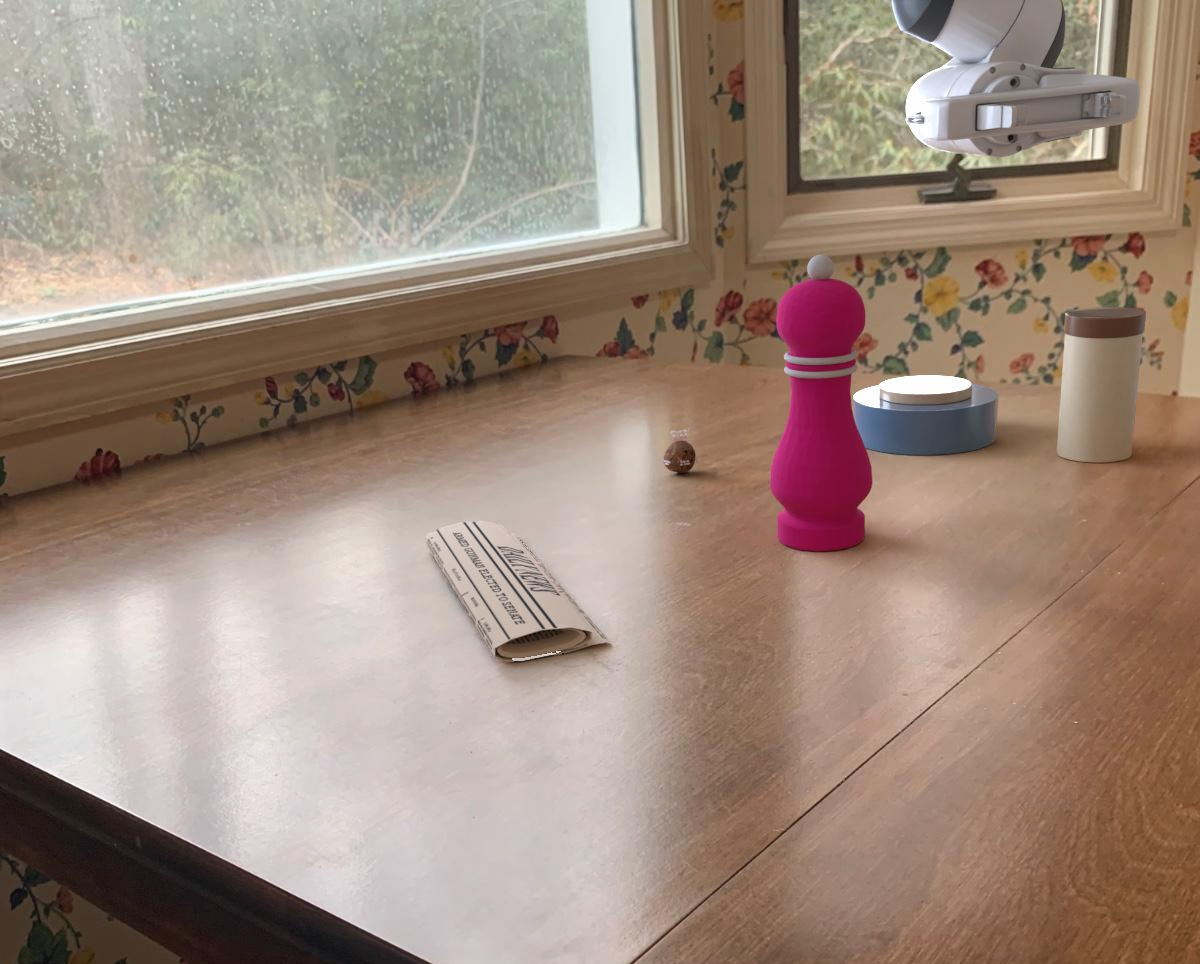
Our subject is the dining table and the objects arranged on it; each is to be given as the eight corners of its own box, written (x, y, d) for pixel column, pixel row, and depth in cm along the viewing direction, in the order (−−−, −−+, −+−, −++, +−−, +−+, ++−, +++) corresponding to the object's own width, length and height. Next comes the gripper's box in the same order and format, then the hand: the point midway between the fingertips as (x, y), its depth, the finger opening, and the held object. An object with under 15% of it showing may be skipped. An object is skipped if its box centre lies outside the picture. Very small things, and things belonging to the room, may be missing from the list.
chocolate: (668, 479, 106) (666, 434, 104) (661, 472, 108) (659, 428, 106) (701, 474, 106) (699, 430, 105) (693, 468, 108) (692, 425, 107)
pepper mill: (826, 561, 84) (826, 262, 76) (750, 540, 89) (743, 259, 82) (892, 535, 88) (898, 250, 80) (816, 516, 93) (815, 247, 86)
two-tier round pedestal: (960, 416, 120) (962, 366, 118) (1021, 446, 108) (1024, 391, 106) (834, 429, 119) (834, 378, 117) (881, 461, 107) (882, 405, 105)
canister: (1108, 442, 108) (1120, 304, 103) (1147, 458, 102) (1161, 314, 98) (1042, 449, 107) (1051, 311, 103) (1077, 466, 101) (1089, 320, 97)
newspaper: (425, 550, 92) (423, 527, 91) (516, 535, 93) (514, 513, 93) (495, 666, 70) (492, 638, 70) (610, 645, 72) (608, 617, 72)
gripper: (899, 85, 119) (960, 84, 106) (1094, 66, 121) (1176, 62, 108) (898, 153, 121) (958, 160, 109) (1089, 133, 124) (1169, 137, 111)
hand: (1069, 111), depth 109 cm, fingers open, 8 cm apart
